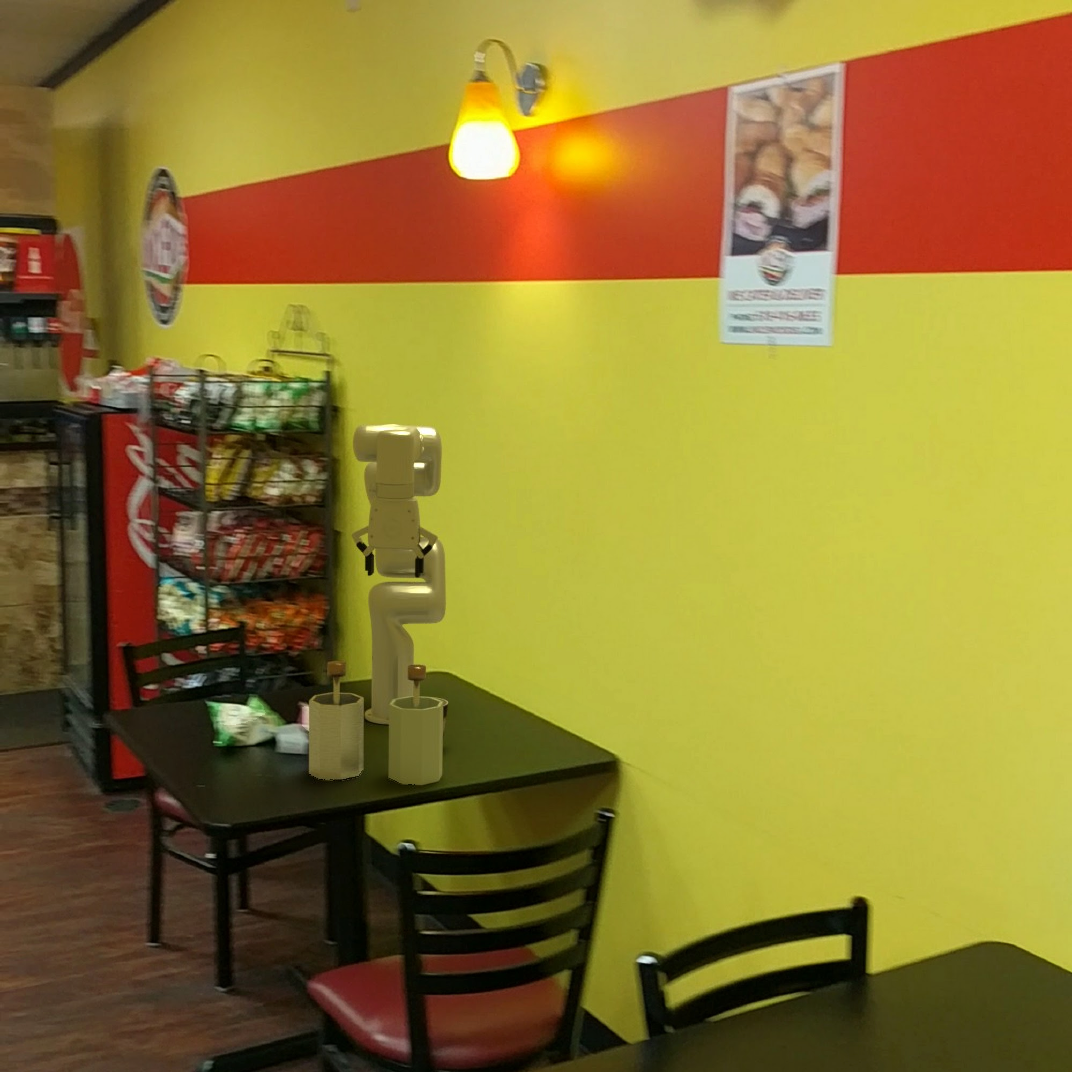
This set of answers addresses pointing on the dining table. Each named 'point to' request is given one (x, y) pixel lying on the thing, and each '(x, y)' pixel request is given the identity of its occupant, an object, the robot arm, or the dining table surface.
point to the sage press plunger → (416, 681)
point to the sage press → (415, 740)
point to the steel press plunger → (336, 677)
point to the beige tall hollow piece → (336, 736)
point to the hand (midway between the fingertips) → (394, 575)
